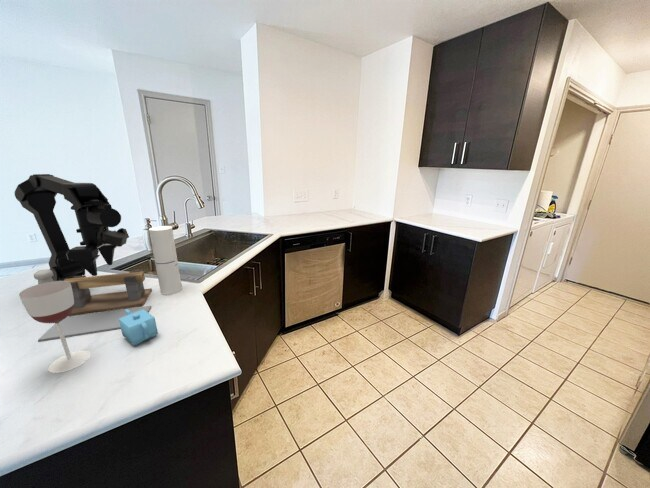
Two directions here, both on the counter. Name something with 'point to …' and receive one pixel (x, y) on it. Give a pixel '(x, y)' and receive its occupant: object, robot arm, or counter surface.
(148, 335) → the light blue knobbed box
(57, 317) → the wineglass
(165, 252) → the cylindrical container
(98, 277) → the oak rail
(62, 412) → the counter surface
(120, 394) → the counter surface
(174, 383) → the counter surface
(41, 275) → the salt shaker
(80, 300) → the rail stand
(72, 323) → the grey mat
